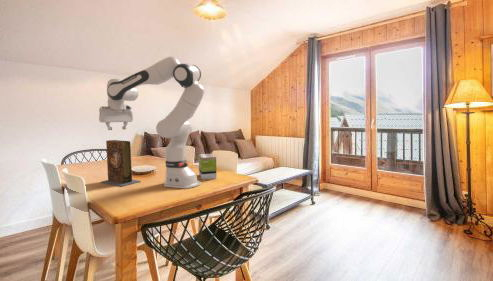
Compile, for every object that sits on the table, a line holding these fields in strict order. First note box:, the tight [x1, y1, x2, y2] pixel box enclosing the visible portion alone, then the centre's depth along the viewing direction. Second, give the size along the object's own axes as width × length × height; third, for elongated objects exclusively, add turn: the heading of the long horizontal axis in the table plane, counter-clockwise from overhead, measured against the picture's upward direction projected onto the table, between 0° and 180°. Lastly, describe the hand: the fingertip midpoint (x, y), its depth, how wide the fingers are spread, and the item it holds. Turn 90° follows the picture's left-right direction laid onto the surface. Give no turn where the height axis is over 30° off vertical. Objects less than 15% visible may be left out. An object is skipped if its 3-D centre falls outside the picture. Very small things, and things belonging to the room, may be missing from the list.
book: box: [105, 139, 133, 183], centre depth 158 cm, size 16×6×25 cm, turn 62°
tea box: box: [198, 153, 217, 181], centre depth 173 cm, size 15×10×15 cm, turn 17°
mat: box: [100, 179, 141, 188], centre depth 159 cm, size 20×13×1 cm, turn 62°
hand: (117, 129), depth 157 cm, fingers open, 8 cm apart
